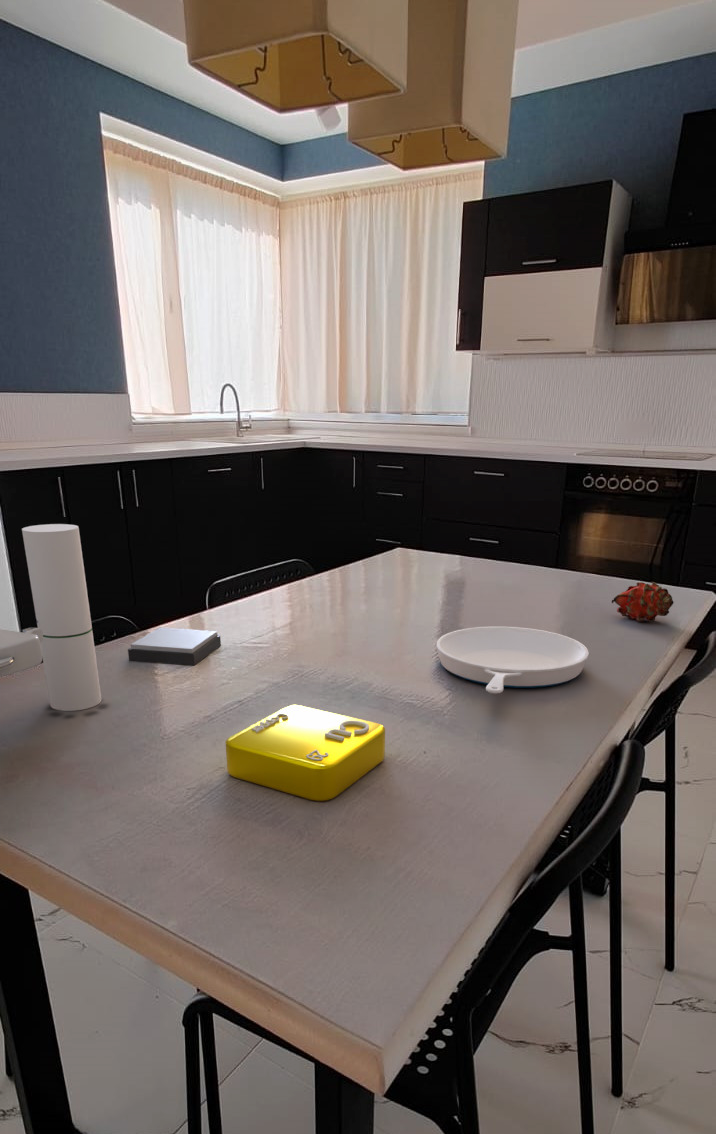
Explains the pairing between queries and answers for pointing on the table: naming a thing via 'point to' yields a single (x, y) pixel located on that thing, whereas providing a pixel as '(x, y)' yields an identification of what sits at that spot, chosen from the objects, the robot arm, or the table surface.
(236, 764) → the element tile
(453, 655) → the pan
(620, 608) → the dragon fruit
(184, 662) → the scale
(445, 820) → the table surface
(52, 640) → the cylindrical container
